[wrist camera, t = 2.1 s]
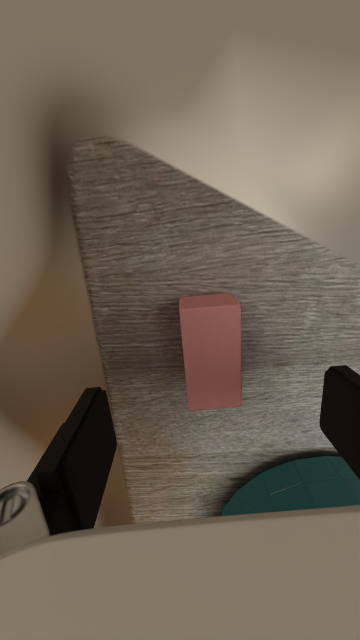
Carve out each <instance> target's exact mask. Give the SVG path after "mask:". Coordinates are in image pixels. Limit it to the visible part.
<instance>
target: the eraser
mask: <svg viewBox="0 0 360 640" xmlns="http://www.w3.org/2000/svg"><path fill="white" fill-rule="evenodd" d="M179 315H180V325H181V335H182V346H183V356H184V366H185V377H186V387H187V398H188V408H189V410H202V409H215V408H227V407H240V406H241V405H242V373H241V305H240V303H239V302H238V301H237V300H236V299H235V298H234V296H233V295H232V294H231V293H222V294H211V295H200V296H189V297H180V298H179Z"/></svg>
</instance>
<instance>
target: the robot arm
mask: <svg viewBox="0 0 360 640" xmlns="http://www.w3.org/2000/svg"><path fill="white" fill-rule="evenodd" d="M320 427H321V430H322V432H323V433H324V434H325V436H326V437H327V438H328V440H329V441H330V442H331V443H332V445H333V446H334V447H335V449H336V450H337V451H338V453H339V454H340V455H341V456H342V458H343V459H344V460H345V462H346V463H347V464H348V466H349V467H350V468H351V470H352V471H353V472H354V473H355V475H356V476H357V477H358V479H359V480H360V375H359V374H357V373H356V372H355V371H353V370H352V369H351V368H349V367H348V366H346V365H342V366H331V367H329V369H328V370H327V371H326V372H325V376H324V385H323V395H322V404H321V414H320ZM116 446H117V441H116V436H115V431H114V426H113V422H112V417H111V412H110V408H109V403H108V398H107V394H106V391H105V390H102V389H101V388H100V387H95V388H86V389H85V391H84V392H83V394H82V396H81V397H80V399H79V400H78V402H77V404H76V405H75V407H74V409H73V410H72V412H71V414H70V415H69V417H68V419H67V420H66V422H65V423H63V424H62V426H61V427H60V428H59V430H58V432H57V433H56V435H55V437H54V438H53V440H52V441H51V443H50V445H49V446H48V448H47V450H46V451H45V453H44V454H43V456H42V458H41V459H40V461H39V463H38V464H37V466H36V467H35V469H34V471H33V472H32V474H31V475H30V477H29V479H28V480H27V481H21V482H16V483H12V484H10V485H8V486H6V487H4V488H2V489H1V490H0V640H360V505H358V506H344V507H331V508H318V509H305V510H292V511H280V512H268V513H255V514H243V515H231V516H219V517H208V518H196V519H185V520H173V521H162V522H151V523H139V524H130V525H121V526H111V527H102V528H94V525H95V521H96V518H97V514H98V511H99V507H100V504H101V500H102V497H103V493H104V490H105V486H106V483H107V479H108V476H109V472H110V469H111V465H112V462H113V458H114V455H115V451H116Z"/></svg>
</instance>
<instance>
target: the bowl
mask: <svg viewBox="0 0 360 640" xmlns="http://www.w3.org/2000/svg"><path fill="white" fill-rule="evenodd" d="M358 505H360V480H359V479H358V477H357V476H356V475H355V473H354V472H353V471H352V470H351V468H350V467H349V466H348V464H347V463H346V462H345V460H344V459H343V458H342V457H336V456H320V457H310V458H302V459H298V460H293V461H289V462H286V463H283V464H280V465H277V466H275V467H273V468H270V469H268V470H266V471H264V472H262V473H261V474H259V475H257V476H256V477H255V478H253V479H252V480H250V481H249V482H248V483H247V484H245V485H244V486H242V487H241V488H240V489H238V490H237V491H236V492H235V494H234V495H233V496H232V498H231V499H230V500H229V501H228V503H227V504H226V505H225V507H224V508H223V510H222V513H221V516H231V515H243V514H255V513H268V512H280V511H292V510H305V509H318V508H331V507H344V506H358Z"/></svg>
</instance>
